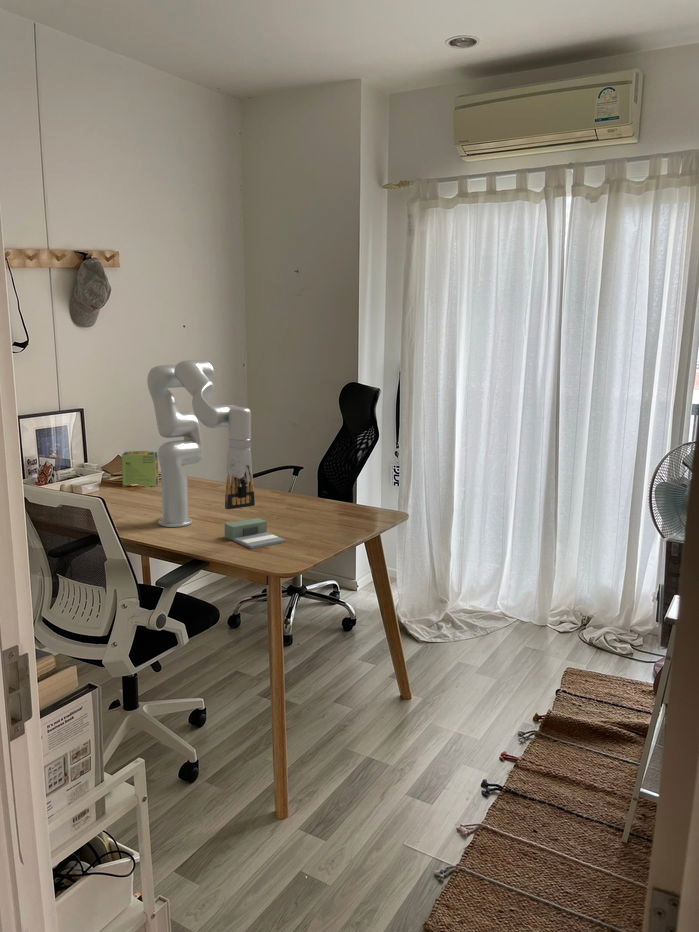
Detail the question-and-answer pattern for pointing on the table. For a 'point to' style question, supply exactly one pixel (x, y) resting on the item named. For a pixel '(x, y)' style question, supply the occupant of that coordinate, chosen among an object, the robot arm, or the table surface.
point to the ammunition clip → (232, 496)
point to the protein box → (140, 468)
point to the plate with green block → (251, 533)
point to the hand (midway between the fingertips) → (240, 496)
